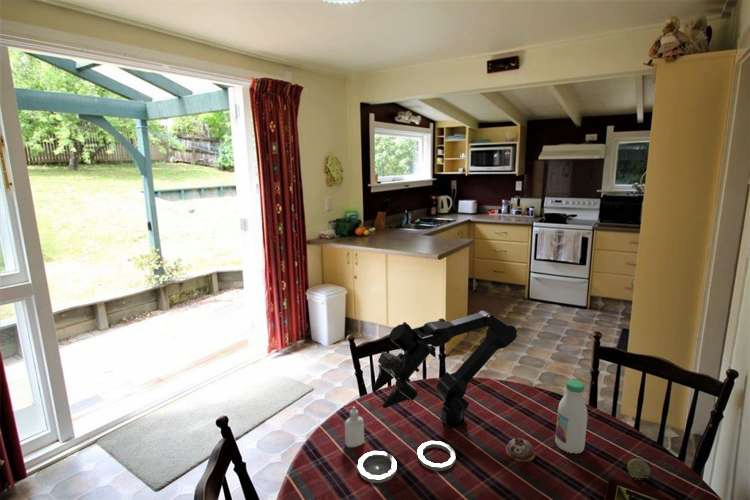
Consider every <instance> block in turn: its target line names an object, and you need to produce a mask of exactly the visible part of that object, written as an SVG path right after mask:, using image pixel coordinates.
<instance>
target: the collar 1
mask: <svg viewBox="0 0 750 500" xmlns="http://www.w3.org/2000/svg"><path fill="white" fill-rule="evenodd" d="M397 466H398V465H397V461H396V459H395V458H394V456H393V455H392V454H389V453H388V452H386V451H380V450H379V451H378V450H373V451H370V452H367V453H364V454H363V455H362V456H361V457H360V458H359V459H358V464H357V472H358V474H359V476H360V477H361V479H363V480H365V481H367V482H369V483H374V484H382V483H385V482H388V481H391V480H392V478H393V477H394V476H395V475H396V474H397V469H398V468H397Z"/></svg>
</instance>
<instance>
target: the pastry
mask: <svg viewBox="0 0 750 500" xmlns="http://www.w3.org/2000/svg"><path fill="white" fill-rule="evenodd" d="M505 451H506V454H507V456H509V457H510V458H511V459H513V460H515V461H517V462H520V463H522V462H523V463H529V462H531V461H533V460H535V458H536V449H535V448H534V446H533V445H532V444H531V442H530V441H528V440H526V439H523V438H520V437H515V438H512V439H510V440H509V441H508V443H507V445H506V446H505Z"/></svg>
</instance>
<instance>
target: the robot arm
mask: <svg viewBox="0 0 750 500" xmlns="http://www.w3.org/2000/svg"><path fill="white" fill-rule="evenodd" d="M485 327H487V328H488V329H486V333H485V338H484V340H483V341H482V342H481V343H480V344H479V345H478V346H477V348H476V349H475V350H474V351H473V352H472V353H471V354H470V356H469V357H468V358H467V359H466V360H465V361H464V362H463V363H462V364H461V365H460V367H459V368H458V369H457V370H456V371H455V372H453V373H449V372H448V371H446V372H445V373H444V374H443V376H442V377H441V378H440V379H438V380H437V381H438V382H437V384H436V386H435V387H436V393H437V394H438V395H439V396H440V398H441V399H442V400H443V401H444V402H443V403H442V404H443V405H442V408H441V415H440V416H439V418H440V420H441V421H443V422H444V424H446V425H447V426H448V428H450V429H454V428H457V427H461V426H464V425H467V424H468V421H467V420H466V419H465V412H466V411H465V410H468V408H469V404H470V402H469V401H468V400H467V399H466V398H465V397H464V396H465V394H466V392H467V388H468V384H469V383H470V382H471V380H472V379H473V378H474V377H475V376H476V374H478V373H479V371H480V370H481V369H482V368H483V367H484V365H486V363H488V361H489V360H490V359H491V358H492V356H494V355H495V354H496V352H497V351H498V350H501V349H504V348H507V347H508V346H510V345H511V344H512V343H513V342H514V341H516V338H517V337H518V335H517V333H518V331H517V328H516V327H515V326H514V325H512V324H511V323H509V322H507V321H505V320H503V319H501V318H497V317H496V316H495V315H493V314H492V313H490V312H489V311H487V310H480V311H478V312H476V313H473V314H469V315H466V316H463V317H462V316H461V317H460V318H457V319H456V318H455V319H453V320H448V321H443V320H441V321H439V320H437V321H436V320H435V321H434V320H433V321H428V322H426V323H424V324H423V325H421V326H417V327H414V328H412V327H411V326H410V324H408V323H407V322H406V321H404V322H403V323H401V324H397V326H395V327H393V328H392V329H391V331H390V333H389V340H390V341H391V342H392V343H394V345H396V346H397V347H398V348H399V349H400V350H402V351H403V352H404V353H403V352H400V353H398V354H397V355H396V354H393V353H389V352H386V351H381V353H380V355H379V357H378V360H377V361H378V364H377V365H378V370H379V371H378V375H377V378H376V380H375V383H374V384H373V387H372V390H371V391H372V392H374V393H375V392H377V391H379V390H380V389H381V388H383V387H384V386H386V385H387V384H388V383H389V382H390V381H392V380H394V379H395V384H394V383H393V384H392V390H391V393H389V395H388V397H387V398H386V399H385V401H384V403H383V404H382V408H383V409H387V408H389V407H391V406H394V405H396V404H398V403H402V402H405V401H410V400H411V401H414V400H415V399H416V398H417V397H418V391H417V389H416V388H415V387H414V385H413V384H411V383H410V382H412V381H411V379H410V378H411V377H412V375H413V374H414V373H415V372H416V373H419V372H420V366H421V365H422V364H423V362H425V360H426V359H427V358H428V357H429V355H431V356H432V357H433V358H436V357H437V355H436V354H437V353H436V348H439V347H442V346H443V345H446V344H447V343H449V342H450V341H451V340H452V339H453V338H455V337H457V336H460V335H464V334H467V333H470V332H473V331H477V330H480V329H482V328H485Z"/></svg>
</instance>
